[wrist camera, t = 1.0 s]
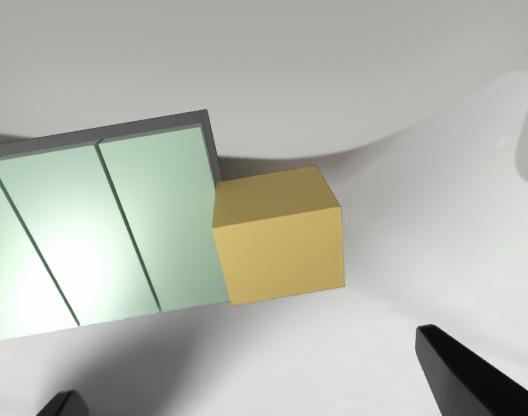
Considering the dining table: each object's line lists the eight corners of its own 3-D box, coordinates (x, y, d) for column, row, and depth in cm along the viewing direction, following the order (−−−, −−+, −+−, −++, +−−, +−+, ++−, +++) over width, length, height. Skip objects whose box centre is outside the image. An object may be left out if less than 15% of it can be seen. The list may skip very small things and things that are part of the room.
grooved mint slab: (324, 275, 20) (347, 335, 16) (8, 329, 20) (-47, 402, 16) (310, 104, 16) (337, 129, 12) (-100, 173, 16) (-214, 222, 12)
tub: (240, 259, 23) (241, 289, 20) (33, 294, 23) (7, 329, 20) (207, 109, 18) (202, 122, 16) (-53, 152, 18) (-101, 173, 16)
